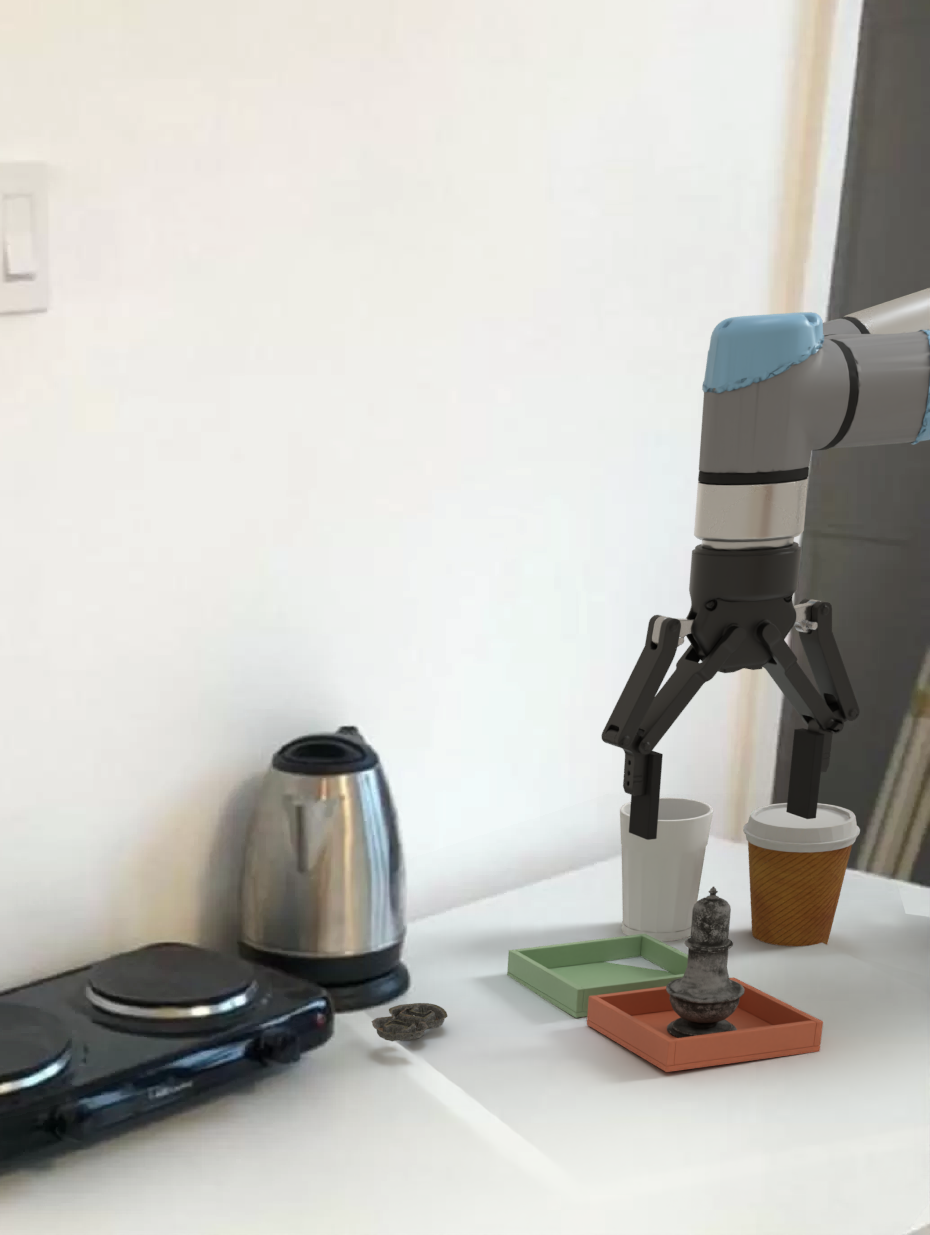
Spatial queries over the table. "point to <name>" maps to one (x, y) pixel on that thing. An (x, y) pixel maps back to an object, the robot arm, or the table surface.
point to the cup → (664, 869)
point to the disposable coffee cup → (797, 871)
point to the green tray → (593, 969)
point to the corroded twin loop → (409, 1021)
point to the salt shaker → (705, 974)
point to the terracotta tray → (758, 1036)
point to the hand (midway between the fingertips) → (722, 825)
